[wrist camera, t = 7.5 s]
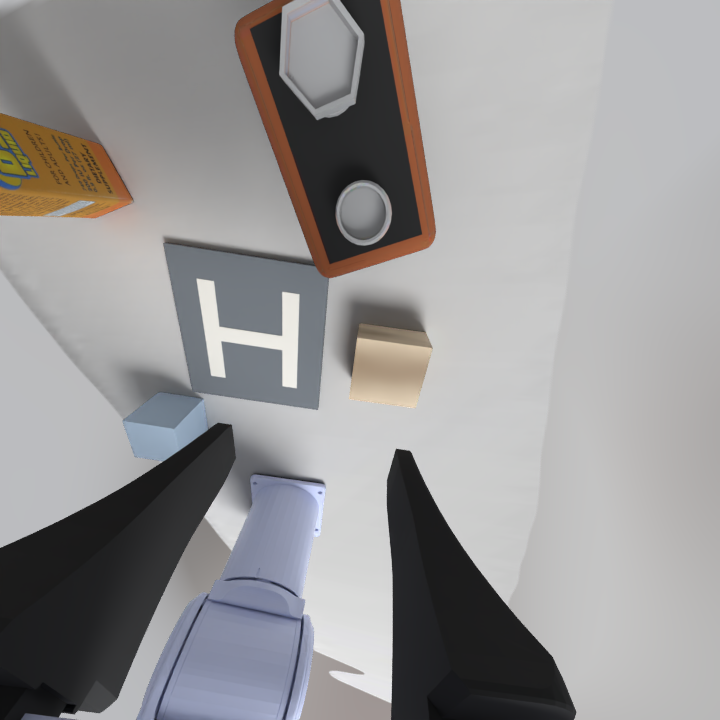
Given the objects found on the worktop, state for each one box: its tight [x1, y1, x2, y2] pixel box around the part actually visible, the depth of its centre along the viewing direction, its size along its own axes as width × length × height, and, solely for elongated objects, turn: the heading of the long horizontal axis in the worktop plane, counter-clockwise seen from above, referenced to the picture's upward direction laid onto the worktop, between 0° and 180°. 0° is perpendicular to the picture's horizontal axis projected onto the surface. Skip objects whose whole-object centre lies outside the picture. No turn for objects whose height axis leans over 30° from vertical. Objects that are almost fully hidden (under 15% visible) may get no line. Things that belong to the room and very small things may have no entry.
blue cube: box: [123, 392, 208, 461], centre depth 23 cm, size 4×4×4 cm
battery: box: [235, 0, 436, 278], centre depth 11 cm, size 4×7×10 cm, turn 17°
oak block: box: [349, 323, 433, 408], centre depth 20 cm, size 5×5×3 cm
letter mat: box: [163, 243, 329, 410], centre depth 20 cm, size 12×11×1 cm
